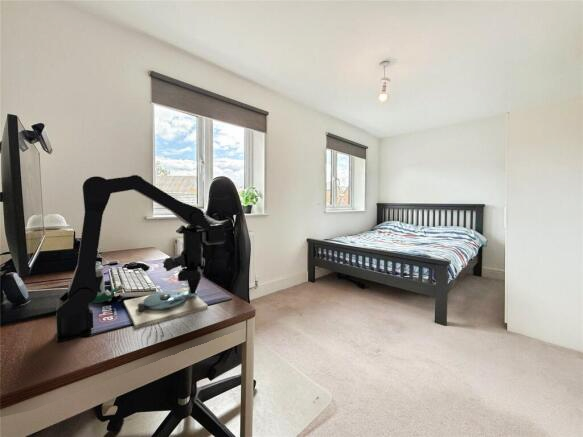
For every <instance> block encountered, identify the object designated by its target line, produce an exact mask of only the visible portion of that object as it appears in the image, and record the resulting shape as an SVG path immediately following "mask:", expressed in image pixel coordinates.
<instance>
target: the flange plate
mask: <svg viewBox="0 0 583 437" xmlns="http://www.w3.org/2000/svg"><path fill="white" fill-rule="evenodd" d="M187 289H188V292H179V291H172V290H168V291H160V292H156V293H154V294H153V293H152V294H149V295H150V296H148V295H147V296H148V297H147V298H145V299H144V301H143V302H140V303H145V308H146V309H149V310H164V309H170V308H173V307H176V306H179V305H181V304H182V303H184V302H185V300H186V298H189V297H193V296H197V297H198V292H197V290H196V291H195V294H191V291H190V288H189V284H188V283H187ZM138 304H139V303H137V307H138Z"/></svg>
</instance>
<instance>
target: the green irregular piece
mask: <svg viewBox="0 0 583 437" xmlns="http://www.w3.org/2000/svg"><path fill="white" fill-rule="evenodd" d="M125 287H126V286H125V285H124V284H122V283H120V284H119V285H118V286H117V287H115V288H113V289H112V290H108V289H106V290H105V292H104V293H103V294H101V295H98V296H97V297H96V299H95V300H94V301H92V302H91V303H90V304H99V303H102V302H105V301H107V302H110V301H113V298H115V297H114V292H116V291H118V290H120V289H123V288H125Z"/></svg>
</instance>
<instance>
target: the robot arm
mask: <svg viewBox="0 0 583 437" xmlns="http://www.w3.org/2000/svg"><path fill="white" fill-rule="evenodd" d="M126 191H127V192H128V191H135V192H137V193H138V194H140V195H142V196H143V197H145V198H147V199H148V200H151V201H152V202H154V203H155V204H158V205H159V206H161V207H162V208H164V209H167V210H168V211H170V212H171V213H172V214H173V215H174V216H175V217H176V218H177V219H179V220H180V221H181V222H182V223H184V224H185V225H189V226H191V227H186V226H185V225H182V224H181V225H180V226H179V228H178V229H176V230H175V233H177V234H180V235H182V237H183V238H182V239H183V241H182V244H183V246H182V248H183V249H182V251H181V252H180V253H179V254H176V255H173V256H169V257H166V258H165V259H164V260H163V262H162V264H163V269H165V270H166V272H171V270H174V269H176V268H179V267H180V268H181V269H180V270H179V272H178V274H177V281H178V282H187V285H188V284H189V288H190V291H191V294H195V291H196V292H197V289H198V286H199V284H200V281H201V279H202V276H203V272H204V268H203V269H202V268H201V267H205V263H206V258H204V257H203V251H204V248H203V243H205V245H206V246H210V245H219V244H225V243H226V239H227V234H226V230H225V228H224V224H223V223H216V224H210V223H209V222H208V221H207V219H206V218H205V217H206V216H205V212H204V211H203V210H202V209H201V208H199V207H196V206H194V205H191V204H189V203H186V202H182V201H181V200H178V199H176V198H175V197H173V196H172V195H170V194H168V193H167V192H165V191H163V190H162V189H160V188H158V187H156V186H155V185H153V184H152V183H150V182H148V181H147V180H145V179H144V178H142V176H140V175H139V174H138V175H137V174H132V175H129V176H124V177H123V176H122V177H114V178H105V177H102V176H95V175H94V176H90V177H88V178H86V179H85V181H84V182H83V184H82V198H83V199H82V200H83V208H84V214H83V223H82V228H81V229H82V230H81V235H80V236H81V237H80V243H79V251H78V258H77V265H76V267H75V270H74V272H73V274H72V277H71V280H70V282H69V286H68V287H67V291H66V292H64V293H63V294H62V295H61V296H60V297H59V298H58V300H57V305H56V309H55V318H56V340H55V341H56V343H61V342H65V341H69V340H71V339H78V338H79V337H84V336H87V335H91V334H92V329H94V312H93V309H91V308H90V304H92V303H91V302H92V301H94V300H95V299H96V297H97V295H98V292H100V293H101V288H100V285H101V282H102V279H103V275H102V272H101V271H98V272H96V262H97V258H98V252H99V242H100V237H101V230H102V222H103V216H104V212H105V210H106V207H107V205H108V203H109V200H110V197H111V194H115V193H116V194H117V193H121V192H126ZM197 228H200V229H197Z"/></svg>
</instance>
